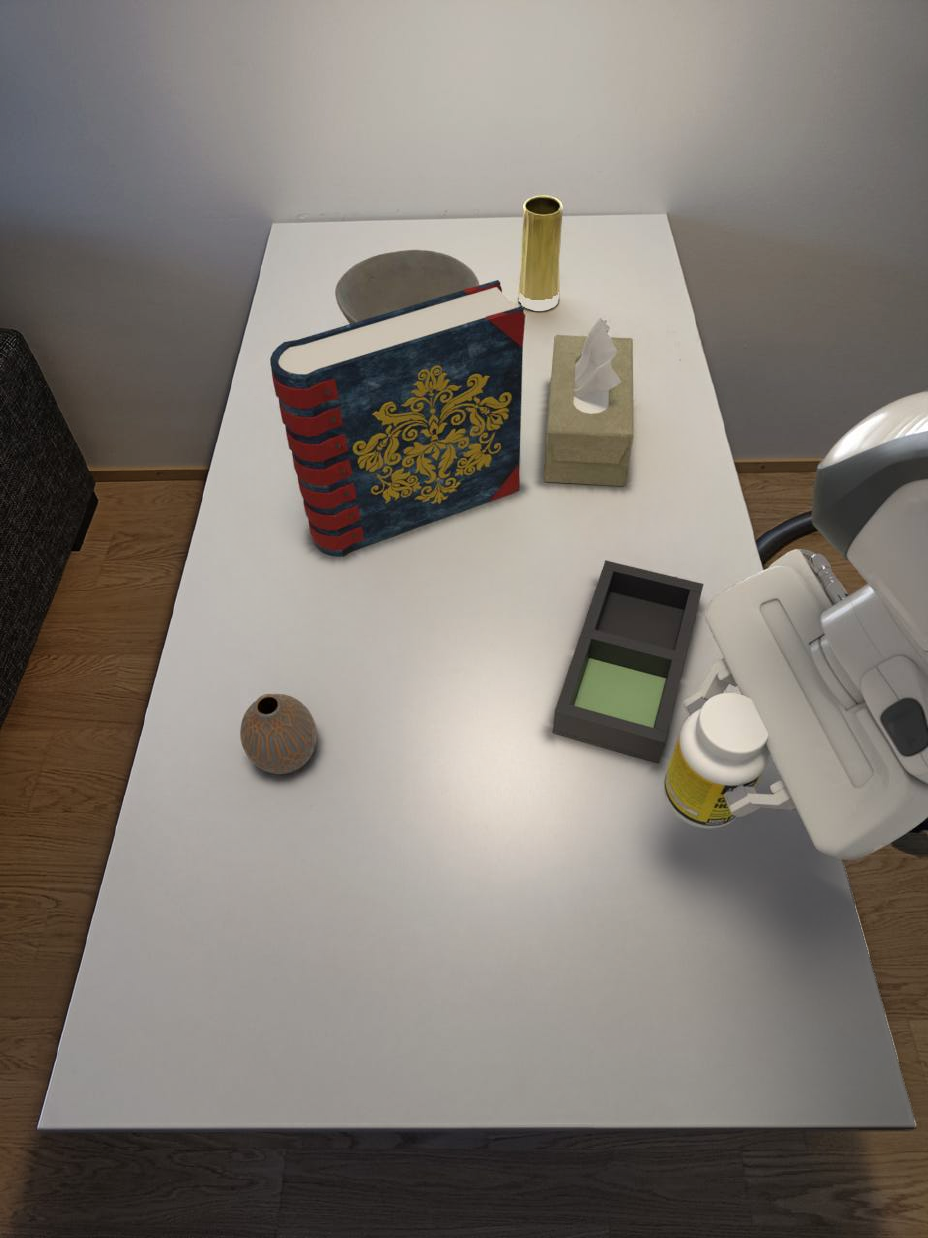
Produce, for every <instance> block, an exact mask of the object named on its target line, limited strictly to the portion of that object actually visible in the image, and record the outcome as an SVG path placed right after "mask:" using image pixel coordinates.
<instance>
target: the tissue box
mask: <svg viewBox="0 0 928 1238" xmlns="http://www.w3.org/2000/svg"><path fill="white" fill-rule="evenodd" d="M607 320H608V319H607ZM607 320H606V319H605V320H604V319H602V318H601V317H599V319H598V320H597V321H596V322H595V324H594V325H593V326H592V327H591V329H589V332H588V334H587V336H586V335H567V334H565V335H563V334H555V335H554V337H553V349H552V360H551V361H552V362H551V373H550V387H549V398H548V411H547V421H546V422H547V423H546V438H545V454H544V470H543V471H544V473H543V481H544V482H546V483H561V484H562V483H563V484H579V485H580V484H581V485H599V486H615V487H617V486H618V487H624V486H626V485H627V478H628V472H629V465H630V460H631V453H632V449H633V448H632V446H633V442H634V340H633V338H632V337H614V336H613V337H612V336H610V334H609V331H610V329H611V326H610V325H609V324H607V323H608V322H607Z"/></svg>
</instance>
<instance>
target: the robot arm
mask: <svg viewBox="0 0 928 1238" xmlns="http://www.w3.org/2000/svg"><path fill="white" fill-rule="evenodd" d="M814 477H815V478H814V482H813V488H812V499H811V525H812V526H813V527H814V529H816V530H817V532H819V534H821V535H822V537H823V538H824V539H825V540H826V541H827V542H828V543H829V544H830V545H831V546H832V548H834V550H836V551H837V552H838V553H839V555H841V556H842V558H844V560H845V561H849V562H850V563H851V565H852V567H854V569H855V570H856V571H857V572H858V573H859V575H860V576H861V577H862V579H863V580H864V581H865V582H866V583H867V584H864V585H863V586H862V587H860V588H859V589H857V590H855V591H854V592H852V593H851V594H849V593H848V591H847V589H845V587H844V585H843V584H842V583H841V581H840V580H839V579H838V577H837V576H836V575H835V573H834V572H833V570H832V566H831V564H830V562H829V560H827V558H826V557H825V556H824V555H823V554H822V553H815V552H814V551H812V550H810V549H806V548H799V549H797V548H795V549H793V550H790V551H788V552H786V553H784V554H783V555H782V556H781V557H779V558H778V559H776V560H774V562H772V563H770V565H769V566H768V567H767V568H766V569H763V570H760V571H758V572H757V573H755V574H753V575H751V576H749V577H746V578H744V579H742V580H741V581H739V582H737V583H735V584H733V585H731V586H730V587H728V588H726V589H724V590H722V591H721V592H720V593H718V594H717V595H715V596H714V597H712V599H710V601H709V603H708V605H707V607H706V609H705V611H704V614H703V617H704V620H705V623H706V624H707V626H708V628H709V630H710V633H711V634H712V637H713V638H714V641H715V643H716V645H717V647H718V650H719V651H720V653H721V656H722V657H723V658H721V659H719V660H718V661H716V662H715V663H713V664H712V665H711V667H710V669H709V670H708V673H707V674H706V677H705V678H704V680H703V681H702V684H701V685H700V687H699V691H697V692H695V693H694V694H692V695H691V696H689V697H688V698H687V699H685V700H684V701H683V702H682V704H683V706H684V709H685V711H686V712H687V715H688V718H689V717H690V716H691V715H692V714H693V713H694V712H696V711H697V710H699V709H701V708H702V706H703V705H704V703H705V702H706V701H707V700H709V699H710V698H711V697H713V696H715V695H718V694H722V693H725V691H726V690H727V688H728V687H729V685H731V686H732V687H735V688H736V687H737V689H738V691H739V692H740V694H741V695H744V696H746V697H749V698H750V699H751V700H752V701H753V704H754V706H755V708H756V710H757V712H758V714H759V716H760V718H761V720H762V722H763V724H764V726H765V728H766V730H767V732H768V739H767V741H766V743H765V744H766V746H767V748H768V751H769V753H770V757H771V759H772V761H773V763H774V765H775V767H776V769H777V771H778V773H779V775H780V777H781V779H779V780H777V781H776V782H775V783H772V784H771V785H770V787H769V788H770V791H771V793H772V794H770V793H758V791H757V789H756V786H755V787H752V786H749V787H748V786H747V785H746V784H742V783H741V784H740V785H738V786H736V787H734V788H733V790H732V791H727V792H725V793H724V795H723V796H724V798H725V801H726V803H727V805H728V808H729V810H730V812H731V815H735V816H737V818H741V817H745V816H748V815H750V814H752V813H753V812H755V811H757V810H759V809H761V808H765V809H775V810H776V809H777V810H793V811H794V810H795V809H796V810H797V813H798V815H799V817H800V819H801V821H802V823H803V825H804V827H805V829H806V831H807V833H808V836H809V838H810V840H811V842H812V844H813V846H814V848H815V849H816V850H817V851H818V852H819V853H821V854H824V855H827V856H830V857H832V858H835V859H839V860H844V861H857V860H860V859H863V858H864V857H867V856H869V855H871V854H873V853H875V852H877V851H879V850H880V849H883V848H885V847H886V846H888V845H889V844H891V843H893V842H895V841H896V840H898V839H899V838H901V837H903V836H904V835H906V834H908V833H909V832H910V831H912V830H913V829H915V828H916V827H917V826H919V825H920V824H921V823H923V822H924V821H925V820H926V819H928V389H925V390H923V391H920V392H916V393H913V394H910V395H906V396H903V397H901V398H899V399H896V400H894V401H892V402H889V403H887V404H886V405H883V406H882V407H880V408H879V409H877V410H875V411H874V412H872V413H870V414H869V415H867V416H866V417H864V419H862V420H861V421H859V422H857V423H856V424H855V425H854V426H853V427H851V428H850V429H849V430H848V431H847V432H846V433H844V434H843V436H841V437H840V438H839V439H838V440H837V442H836V443H835V444H833V446H832V447H831V449H830V450H829V451H828V452H827V454H825V457H824V458H823V459H822V460H821V461H820V462H819V463H818V465H817V468H816V471H815V476H814ZM808 557H809V558H808Z"/></svg>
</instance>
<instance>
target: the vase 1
mask: <svg viewBox="0 0 928 1238" xmlns="http://www.w3.org/2000/svg"><path fill="white" fill-rule="evenodd" d="M239 735H240V743H241V746H242V748H243V751H244V753H245V754H246V756H247V758H248V760H250V762H251V763H252V764H253V765H255V766H256V767H257V768H259V769H260V770H262V771H264V772H266V773H270V774H276V775H283V774H284V775H285V774H289V773H292V772H294V771H297V770H299V769H300V768H302V767H303V766H304V765H305V764H306V763H307V762H308V761H309V759H311V756H312V755H313V753H314V751H315V748H316V745H317V739H318V738H317V737H318V733H317V726H316V722H315V719H314V716H313V715H312V713H311V711H310V710H309V708H307V707H306V705H305V704H304V703H303V702H302V701H300V700H299V699H297V698H295V697H293V696H291V695H289V694H284V693H266V694H262V695H261V696H259V697H258V698H257V699H256V700H255V701H253V703H251V704H250V705H249V706H248V708H247V710H246V711H245V713H244V714H243V717H242V719H241V723H240V734H239Z"/></svg>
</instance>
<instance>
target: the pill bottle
mask: <svg viewBox="0 0 928 1238" xmlns="http://www.w3.org/2000/svg"><path fill="white" fill-rule="evenodd" d="M767 739H768V732H767V730H766V728H765V726H764V724H763V722H762V720H761V718H760V716H759V714H758V712H757V710H756V708H755V706H754V704H753V701H752V700H751V699H750V698H749V697H746V696H744V695H741V693H735V692H724V693H722V694H718V695H715V696H713V697H711V698H710V699H709V700H707V701H706V702H705V703H704V705H703V706H702V708H701V709H699V710H697V711H696V712H694V713H693V714H692V715H691V716H690V717H689V716H688V718H687V719H686V720H685V722H684V723H683V724H682V727H681V729H680V732H679V735H678V738H677V741H676V744H675V747H674V750H673V752H672V756H671V757H670V760H669V762H668V766H667V769H666V772H665V775H664V779H663V793H664V797H665V800H666V802H667V804H668V806H669V808H670V809H671V810H672V812H674V814H675V815H676V816H677V817H679V819H681V820H683V822H685V823H688V824H689V825H691V826H693V827H697V828H701V829H718V828H722V827H725V826H727V825H729V824H730V823H732V822H734V821H735V820H736V819H737V818H738V816H735V815H731V812H730V810H729V808H728V805H727V803H726V801H725V798H724V796H723V795H724V793H725V792H727V791H732V790H733V788H734V787H736V786H738V785H740V784H741V783H742V784H746V785H747V786H748V787H749V786H752V787H755V788H756V786H757V785H758V782H759V780H760V779H761V777H762V776H763V773H764V772H765V770H766V768H767V766H768V763H769V760H770V757H771V755H770V753H769V751H768V748H767V746H766V744H765V743H766V741H767Z"/></svg>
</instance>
